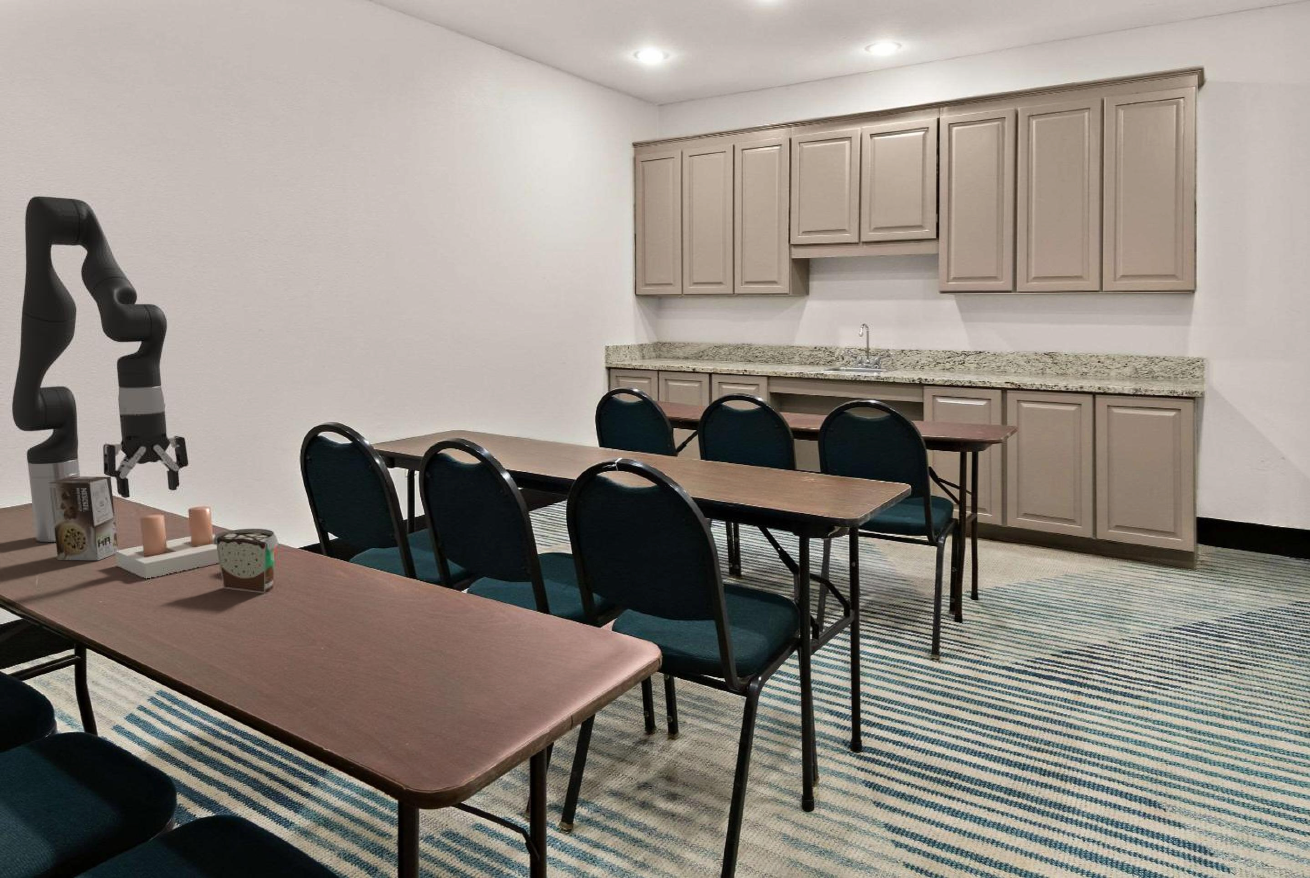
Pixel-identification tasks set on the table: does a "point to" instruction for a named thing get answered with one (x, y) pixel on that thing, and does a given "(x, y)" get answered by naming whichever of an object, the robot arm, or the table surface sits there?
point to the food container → (247, 559)
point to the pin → (153, 535)
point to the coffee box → (83, 518)
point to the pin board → (176, 550)
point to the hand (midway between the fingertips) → (149, 493)
